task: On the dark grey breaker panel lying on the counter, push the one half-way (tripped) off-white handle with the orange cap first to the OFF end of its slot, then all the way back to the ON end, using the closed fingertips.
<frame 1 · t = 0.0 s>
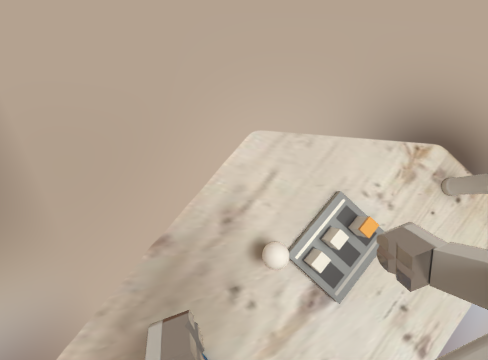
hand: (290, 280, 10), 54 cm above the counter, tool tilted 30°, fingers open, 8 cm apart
panel: (336, 245, 66), on the counter
breaker tripped: (363, 226, 62), point 5 cm above the counter, slide at 0.0 cm
bottle: (448, 187, 72), on the counter
lightbulb: (268, 249, 64), on the counter
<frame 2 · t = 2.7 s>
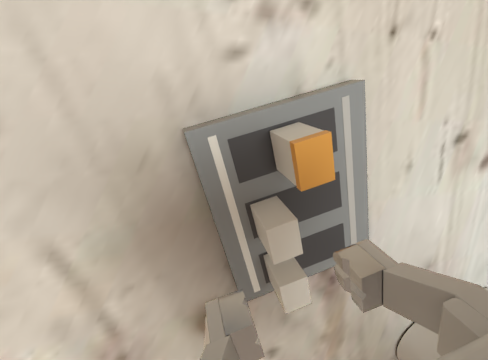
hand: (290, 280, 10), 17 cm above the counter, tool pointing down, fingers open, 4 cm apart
panel: (288, 197, 29), on the counter
breaker tripped: (300, 153, 22), point 5 cm above the counter, slide at 0.0 cm
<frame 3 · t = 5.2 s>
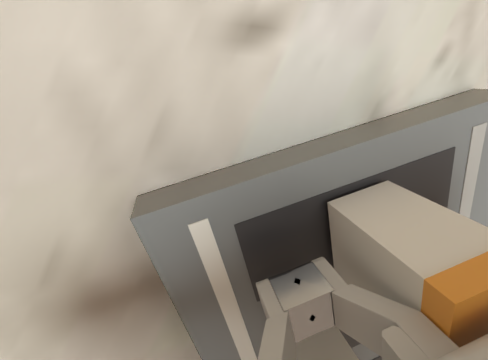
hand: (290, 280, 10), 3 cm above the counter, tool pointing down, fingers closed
panel: (338, 293, 17), on the counter
breaker tripped: (408, 266, 9), point 5 cm above the counter, slide at -0.1 cm, touching gripper
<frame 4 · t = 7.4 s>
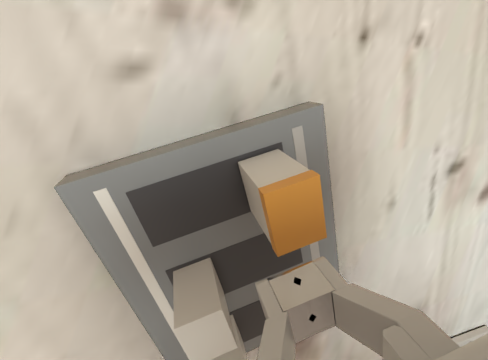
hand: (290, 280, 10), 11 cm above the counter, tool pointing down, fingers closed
panel: (234, 251, 23), on the counter
breaker tripped: (278, 196, 16), point 5 cm above the counter, slide at -3.5 cm
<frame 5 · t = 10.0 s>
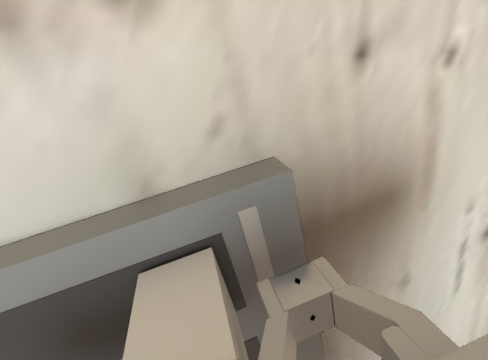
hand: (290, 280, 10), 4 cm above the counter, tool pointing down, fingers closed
breaker tripped: (196, 356, 8), point 5 cm above the counter, slide at -3.4 cm, touching gripper
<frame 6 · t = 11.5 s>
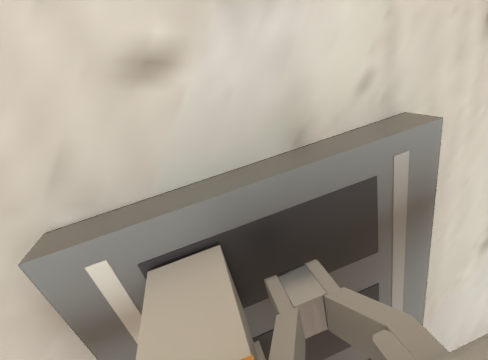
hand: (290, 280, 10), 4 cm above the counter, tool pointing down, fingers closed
panel: (284, 317, 16), on the counter
breaker tripped: (207, 353, 8), point 5 cm above the counter, slide at 3.7 cm, touching gripper
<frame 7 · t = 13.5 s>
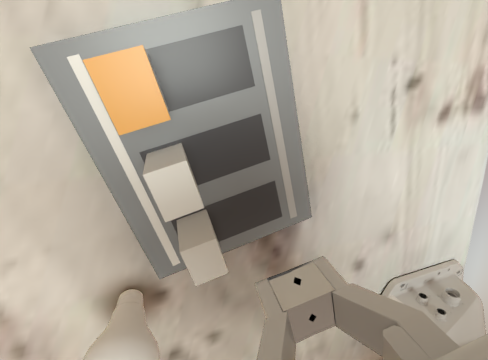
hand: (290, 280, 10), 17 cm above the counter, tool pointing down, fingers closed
panel: (206, 150, 24), on the counter
breaker tripped: (135, 89, 16), point 5 cm above the counter, slide at 3.5 cm
lightbulb: (132, 291, 28), on the counter
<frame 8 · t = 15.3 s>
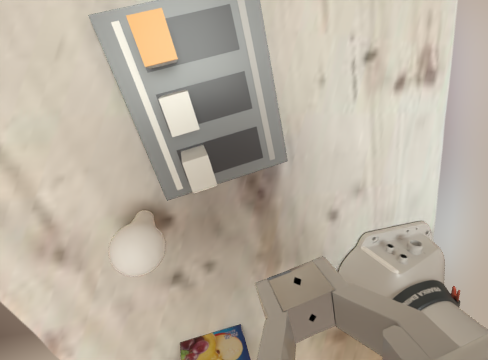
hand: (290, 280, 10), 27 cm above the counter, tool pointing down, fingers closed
panel: (205, 100, 33), on the counter
breaker tripped: (155, 42, 25), point 5 cm above the counter, slide at 3.5 cm
juice carton: (213, 344, 50), on the counter
lightbulb: (145, 214, 36), on the counter
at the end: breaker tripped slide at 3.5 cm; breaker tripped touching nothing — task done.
